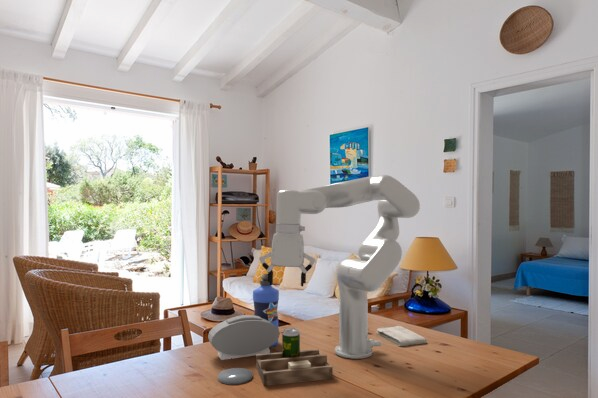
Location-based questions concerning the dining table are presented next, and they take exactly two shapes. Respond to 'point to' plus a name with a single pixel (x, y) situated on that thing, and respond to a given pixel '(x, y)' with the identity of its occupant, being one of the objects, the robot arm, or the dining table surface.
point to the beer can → (290, 343)
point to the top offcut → (299, 364)
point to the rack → (277, 371)
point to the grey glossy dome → (235, 376)
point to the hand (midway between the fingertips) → (286, 285)
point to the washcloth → (400, 336)
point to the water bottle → (266, 302)
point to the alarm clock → (243, 336)
